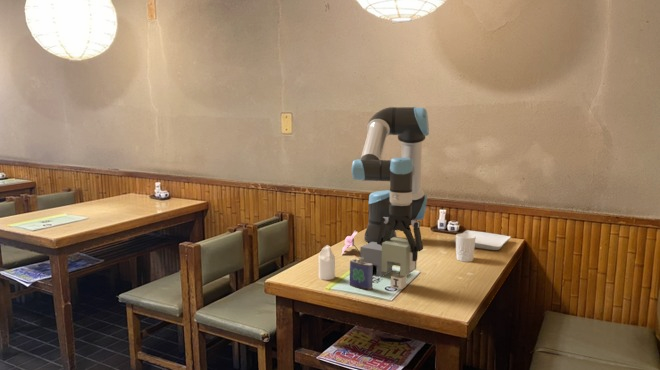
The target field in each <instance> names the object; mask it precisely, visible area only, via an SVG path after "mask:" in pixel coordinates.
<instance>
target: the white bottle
mask: <svg viewBox="0 0 660 370" xmlns="http://www.w3.org/2000/svg"><path fill="white" fill-rule="evenodd" d="M335 273H336V256H335V254H334V253H333V251H332V247H331V246H330V245H328V244H327V245H325V246H324V247H323V248H321V251H320V252H319V253H318V279H320V280H323V281H324V280H325V281H330V280H334V279H335V278H336V274H335Z"/></svg>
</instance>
